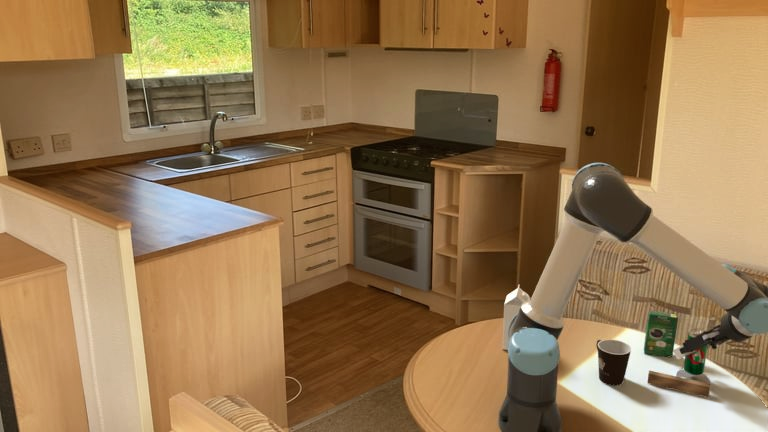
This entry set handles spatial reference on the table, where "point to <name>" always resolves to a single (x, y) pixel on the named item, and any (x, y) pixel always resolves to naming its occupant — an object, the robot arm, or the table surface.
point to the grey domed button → (692, 376)
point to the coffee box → (660, 333)
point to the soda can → (695, 356)
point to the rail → (678, 383)
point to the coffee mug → (612, 361)
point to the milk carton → (512, 311)
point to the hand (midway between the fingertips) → (684, 352)
